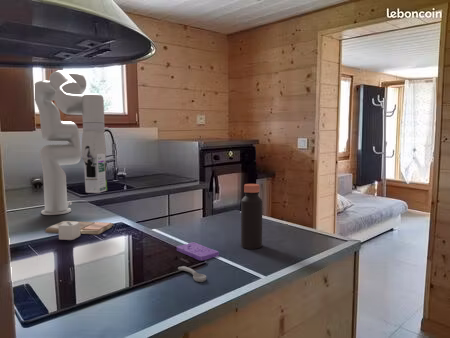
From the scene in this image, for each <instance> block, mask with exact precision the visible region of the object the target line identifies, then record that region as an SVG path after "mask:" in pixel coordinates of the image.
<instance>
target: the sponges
mask: <svg viewBox="0 0 450 338" xmlns="http://www.w3.org/2000/svg"><path fill="white" fill-rule="evenodd" d="M176 251H177V252H179V253H182V254H184V255H187V256H189V257H191V258H194V259H195V260H197V261H206V260H208V259H209V260H210V259H212V258H215V257H218V256H219V255H220V254H219V251H218V250H216V249H212V248H209V247H207V246H205V245H202V244H200V243H197V242H194V241H193V242H189V243H185V244H183V245H178V246H176Z"/></svg>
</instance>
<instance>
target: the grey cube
mask: <svg viewBox="0 0 450 338" xmlns="http://www.w3.org/2000/svg"><path fill="white" fill-rule="evenodd" d="M80 222H81V221H77V222H66V223H63V224H61V225H58V227H59V233H58V240H61V241H62V240H65V241H66V240H67V241H72V240H75V239H77V238H79V237H81V234H80Z"/></svg>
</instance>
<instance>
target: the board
mask: <svg viewBox="0 0 450 338" xmlns="http://www.w3.org/2000/svg"><path fill="white" fill-rule="evenodd" d="M66 222H78V221H76V220H75V221H74V220H73V221H70V220H62V221H61V222H60V221H59V222H57V223H55V224H52V225H50V226H48V227H47V228H45V230H44V231H45V233H52V234H53V233H57V234H59V227H58V225H61V224H63V223H66ZM79 222H80V235H81V234H83V235H100V234H102V233H104V232H106V231H107V230H109V229H111V228H113V227H114V222H101V221H96V222H95V221H79ZM112 226H113V227H112Z"/></svg>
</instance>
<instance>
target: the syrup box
mask: <svg viewBox="0 0 450 338" xmlns="http://www.w3.org/2000/svg"><path fill="white" fill-rule="evenodd" d="M89 158H92V157H89ZM106 160H107V159H106V157H105V153H102V154H96V158H95V162H94V166H95V175H96V177H87V172H86V166H85V162H84V161H83V171H84V172H83V173H84V187H85V188H84V189H85V193H88V194H100V193H102V192H106V191H108V183H107V182H108V180H107V163H106V162H107V161H106ZM90 161H91V162H92V160H90Z"/></svg>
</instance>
